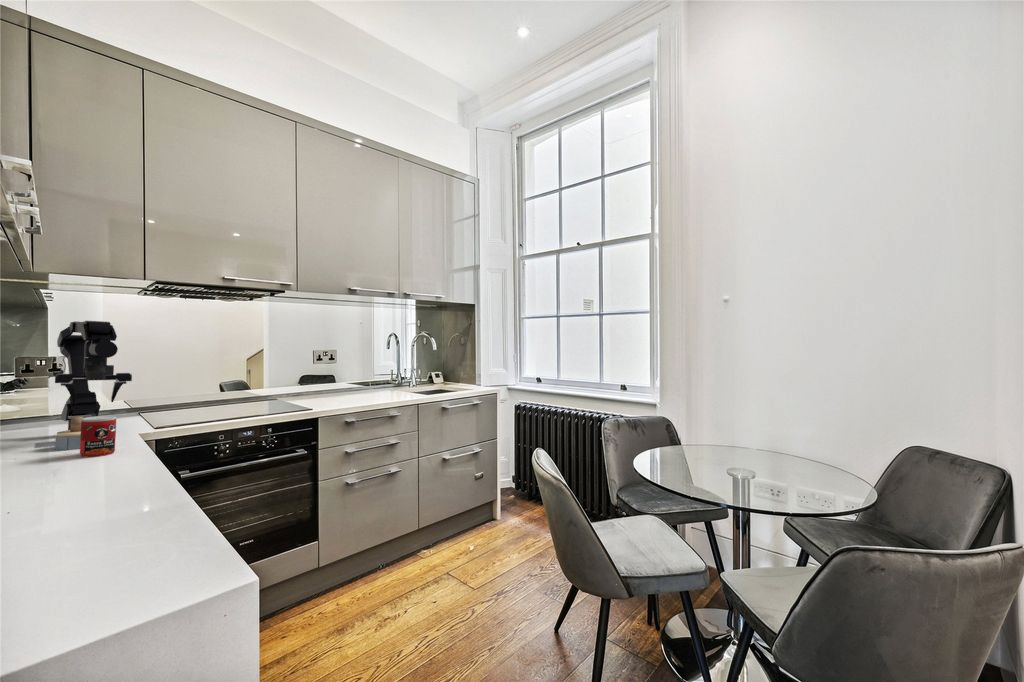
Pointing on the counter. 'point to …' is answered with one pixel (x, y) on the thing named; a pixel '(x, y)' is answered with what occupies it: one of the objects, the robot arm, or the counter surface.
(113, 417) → the canned food
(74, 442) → the bowl
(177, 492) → the counter surface
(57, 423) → the counter surface
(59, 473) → the counter surface
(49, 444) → the mat
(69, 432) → the lid
